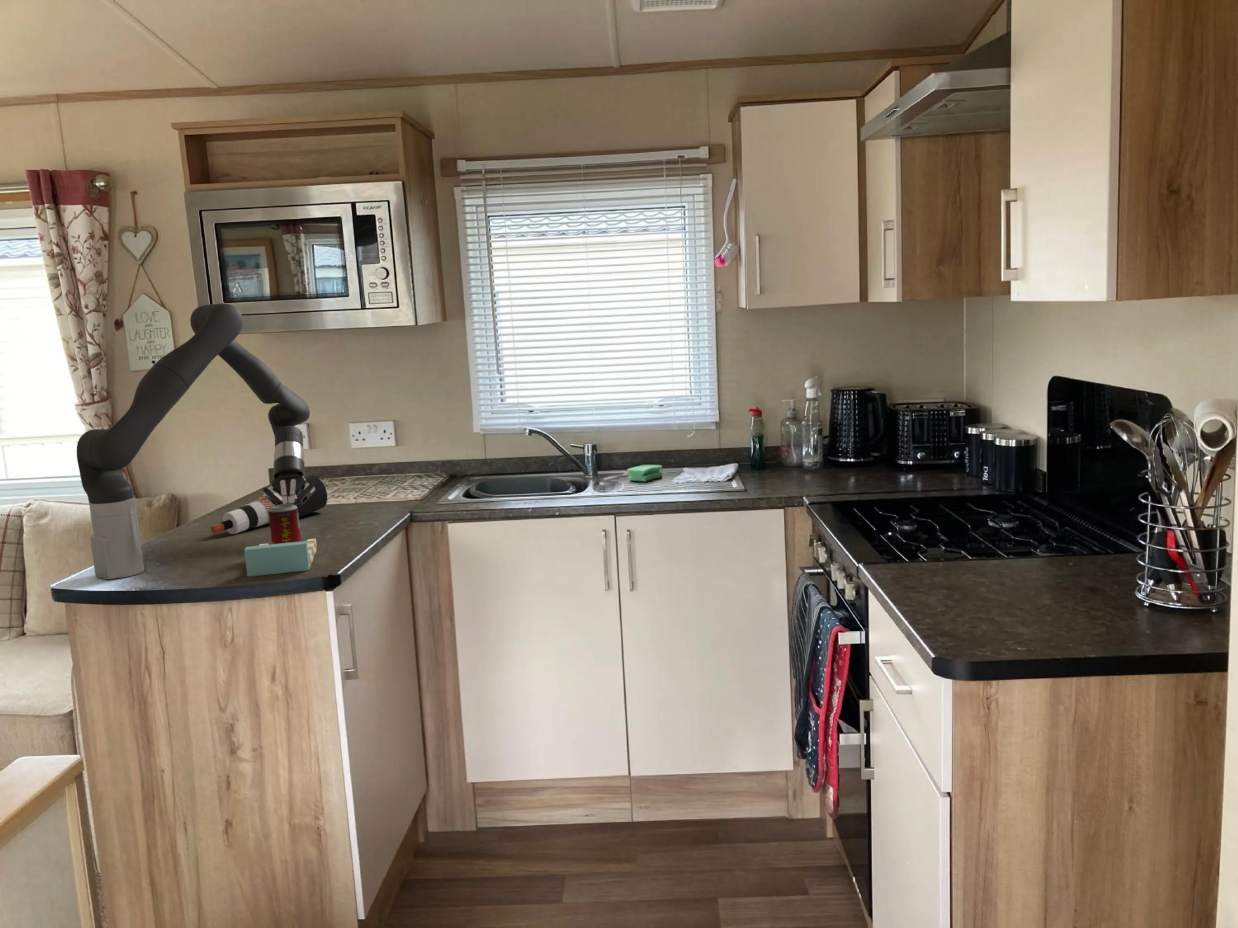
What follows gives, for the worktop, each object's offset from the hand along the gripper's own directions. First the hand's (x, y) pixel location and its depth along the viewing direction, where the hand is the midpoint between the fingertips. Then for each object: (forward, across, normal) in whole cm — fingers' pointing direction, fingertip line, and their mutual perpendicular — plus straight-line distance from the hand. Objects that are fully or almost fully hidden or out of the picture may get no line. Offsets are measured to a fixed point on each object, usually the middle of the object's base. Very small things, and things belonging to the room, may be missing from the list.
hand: (289, 518), depth 245 cm
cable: (-16, -9, +25) cm, 31 cm away
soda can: (+12, 0, -2) cm, 12 cm away
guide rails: (+16, 0, -7) cm, 18 cm away
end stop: (+24, 0, -15) cm, 28 cm away
